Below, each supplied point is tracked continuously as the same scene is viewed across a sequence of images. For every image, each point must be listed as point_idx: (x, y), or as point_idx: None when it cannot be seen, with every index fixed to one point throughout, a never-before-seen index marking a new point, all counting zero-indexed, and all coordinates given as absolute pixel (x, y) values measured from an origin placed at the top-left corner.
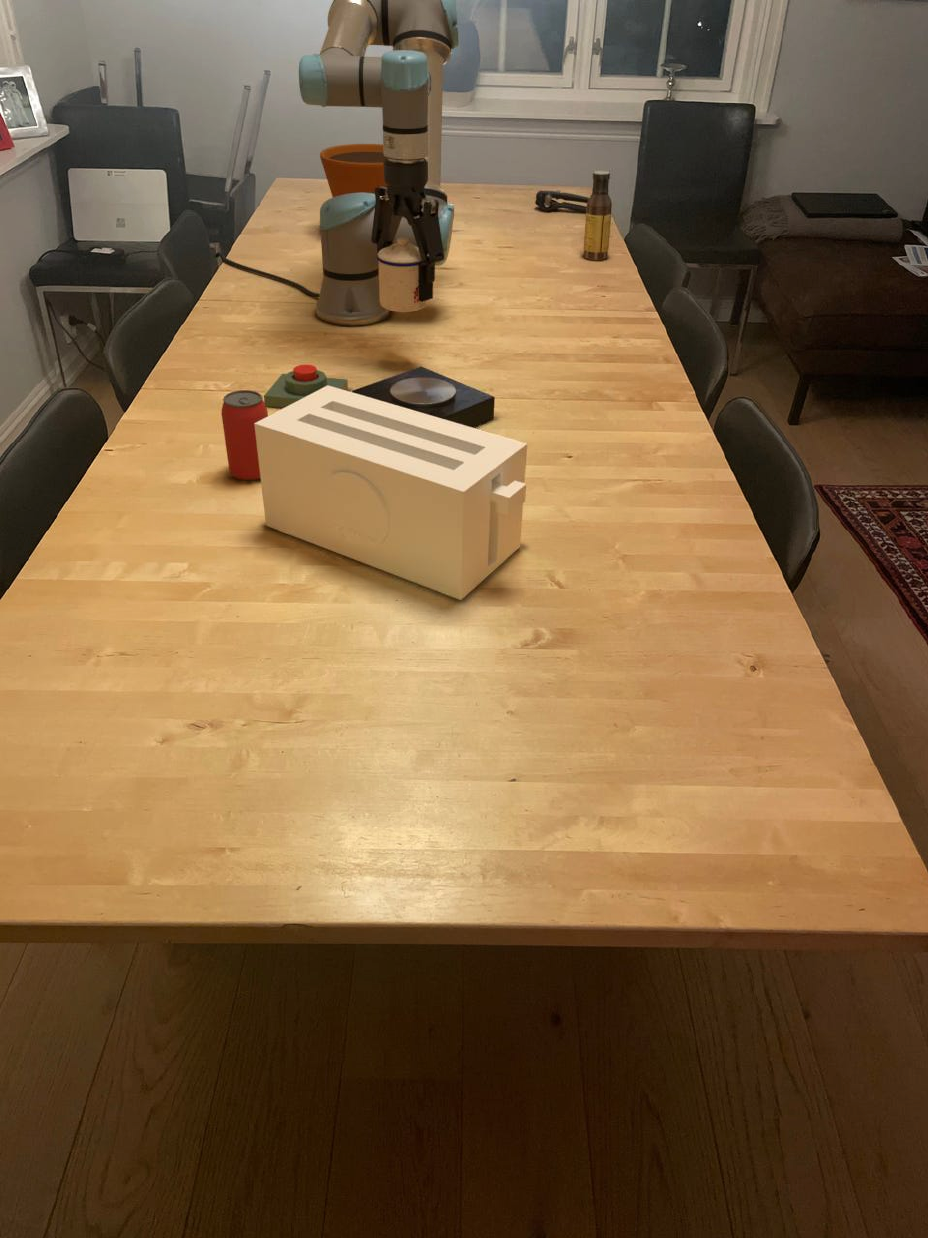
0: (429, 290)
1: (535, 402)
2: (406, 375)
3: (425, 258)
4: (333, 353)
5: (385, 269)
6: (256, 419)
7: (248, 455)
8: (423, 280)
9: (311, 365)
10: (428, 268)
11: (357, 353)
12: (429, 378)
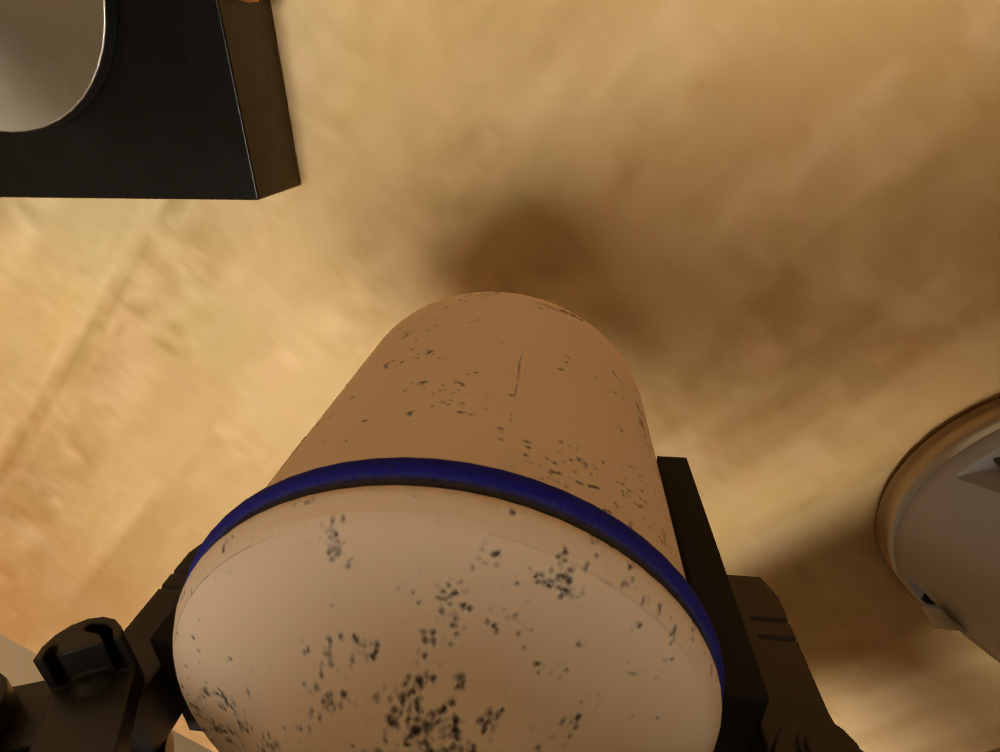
0: None
1: (31, 369)
2: (194, 62)
3: (56, 705)
4: (834, 157)
5: (431, 426)
6: None
7: None
8: None
9: None
10: (129, 630)
11: (741, 238)
12: (70, 94)
